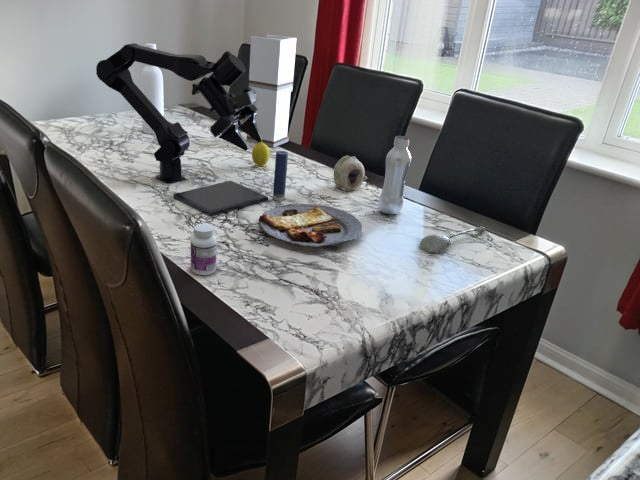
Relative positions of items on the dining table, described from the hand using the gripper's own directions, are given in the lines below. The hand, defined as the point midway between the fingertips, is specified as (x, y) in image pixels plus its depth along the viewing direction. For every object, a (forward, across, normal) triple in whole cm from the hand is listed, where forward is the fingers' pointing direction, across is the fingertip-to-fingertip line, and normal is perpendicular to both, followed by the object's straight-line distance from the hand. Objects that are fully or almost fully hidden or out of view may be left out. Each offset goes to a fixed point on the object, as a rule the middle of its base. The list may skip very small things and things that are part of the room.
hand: (254, 145), depth 154 cm
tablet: (+6, -8, +14) cm, 17 cm away
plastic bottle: (+36, +6, -17) cm, 40 cm away
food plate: (+26, -17, -6) cm, 31 cm away
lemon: (+4, +24, +15) cm, 28 cm away
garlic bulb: (+26, +20, -6) cm, 33 cm away
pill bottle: (+16, -47, +3) cm, 50 cm away
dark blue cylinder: (+15, 0, +4) cm, 16 cm away
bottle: (-31, +42, +50) cm, 72 cm away
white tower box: (-2, +53, +22) cm, 57 cm away
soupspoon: (+49, -5, -30) cm, 57 cm away
